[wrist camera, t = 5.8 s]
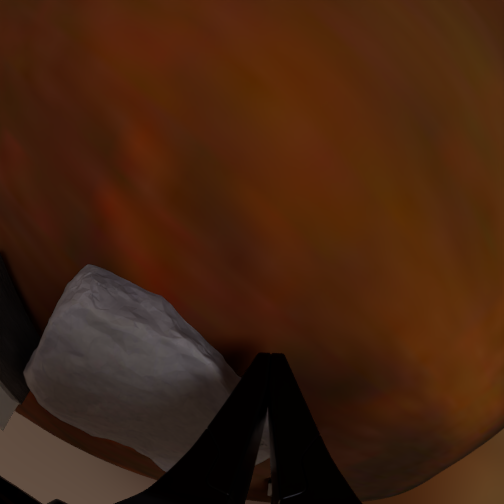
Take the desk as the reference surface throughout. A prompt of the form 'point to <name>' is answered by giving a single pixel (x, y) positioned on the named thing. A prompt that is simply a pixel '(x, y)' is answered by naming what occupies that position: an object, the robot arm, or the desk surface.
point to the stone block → (129, 369)
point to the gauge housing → (6, 408)
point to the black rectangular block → (14, 339)
